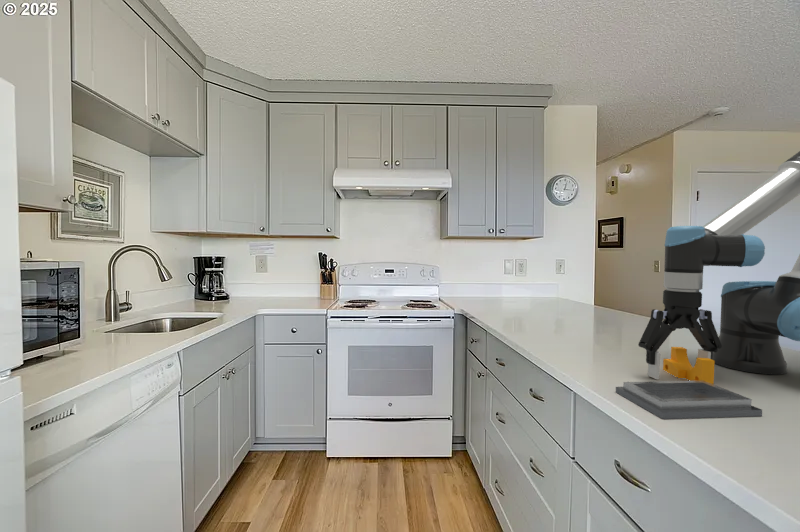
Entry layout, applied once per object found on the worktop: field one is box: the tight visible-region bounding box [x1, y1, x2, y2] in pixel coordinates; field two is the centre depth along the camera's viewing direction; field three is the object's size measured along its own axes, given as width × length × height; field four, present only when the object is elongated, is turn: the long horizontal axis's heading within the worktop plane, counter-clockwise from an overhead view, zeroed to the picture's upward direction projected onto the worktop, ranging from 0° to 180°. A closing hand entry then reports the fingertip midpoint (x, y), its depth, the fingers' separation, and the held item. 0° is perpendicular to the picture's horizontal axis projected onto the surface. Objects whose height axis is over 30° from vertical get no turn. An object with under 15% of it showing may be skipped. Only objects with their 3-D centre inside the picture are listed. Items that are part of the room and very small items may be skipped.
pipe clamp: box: [662, 346, 716, 385], centre depth 90 cm, size 12×4×6 cm, turn 172°
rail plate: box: [615, 380, 763, 420], centre depth 75 cm, size 20×13×3 cm, turn 95°
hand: (678, 377), depth 91 cm, fingers open, 12 cm apart
